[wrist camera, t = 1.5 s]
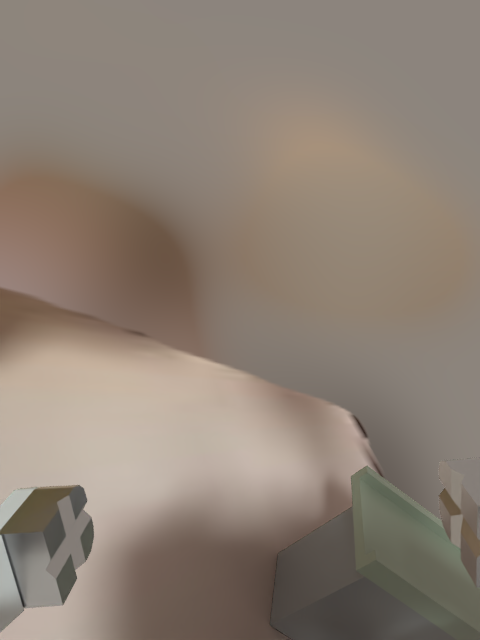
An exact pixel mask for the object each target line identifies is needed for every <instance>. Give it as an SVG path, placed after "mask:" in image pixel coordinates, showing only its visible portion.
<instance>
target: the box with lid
mask: <svg viewBox="0 0 480 640" xmlns="http://www.w3.org/2000/svg"><path fill="white" fill-rule="evenodd" d="M351 485H352V504H353V506H352V507H351V508H349V509H348V510H346V511H345V512H343V513H341V514H340V515H338V516H337V517H335V518H333V519H332V520H330V521H329V522H327V523H326V524H324V525H322V526H321V527H319V528H318V529H316V530H314V531H313V532H311V533H310V534H308V535H307V536H305V537H303V538H302V539H300V540H299V541H297V542H295V543H294V544H292V545H291V546H289V547H288V548H286V549H284V550H283V551H281V552H280V553H278V558H277V567H276V575H275V584H274V593H273V601H272V610H271V619H270V626H272V627H273V628H275V629H277V630H278V631H280V632H281V633H283V634H284V635H286V636H288V637H289V638H291V639H292V640H480V588H476V586H475V584H474V582H473V581H472V579H471V577H470V575H469V574H468V572H467V570H466V568H465V567H464V565H463V563H462V561H461V549H460V548H459V547H457V546H456V545H454V544H453V543H451V541H450V540H449V538H448V536H447V534H446V532H445V529H444V526H443V524H442V521H441V520H439V519H438V518H437V517H436V516H434V515H433V514H431V513H430V512H429V511H427V510H426V509H424V508H423V507H422V506H420V505H419V504H418V503H417V502H415V501H413V499H411V498H410V497H408V496H407V495H406V494H404V493H403V492H402V491H400V490H399V489H398V488H396V487H395V486H394V485H392V484H391V483H390V482H388V481H387V480H386V479H384V478H383V477H381V476H380V475H379V474H377V473H376V472H375V471H373V470H372V469H371V468H369V467H368V466H365V467H364V468H363V469H361V470H360V471H358V472H357V473H355V474H354V475H352V476H351Z"/></svg>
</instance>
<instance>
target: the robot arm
mask: <svg viewBox="0 0 480 640" xmlns="http://www.w3.org/2000/svg"><path fill="white" fill-rule="evenodd" d="M439 479H440V481H441V482H442V484H443V486H444V487H445V488H444V489H443V491H442V492H441V493H440V495H439V510H440V515H441V520H442V524H443V526H444V529H445V532H446V534H447V536H448V538H449V540H450V541H451V543H453V544H454V545H456V546H457V547H459V548H460V549H461V561H462V563H463V565H464V567H465V568H466V570H467V572H468V574H469V575H470V577H471V579H472V581H473V582H474V584H475V586H476V588H480V457H479V458H467V459H457V460H445V461H440V464H439ZM86 503H87V498H86V494H85V491H84V488H82V487H81V486H80V485H71V486H49V487H30V488H20V489H17V490H14V491H13V492H12V493H11V494H10V496H9V497H8V498H7V499H6V500H5V501H4V502H3V503H2V504H1V505H0V632H1V631H2V630H3V629H5V628H6V627H7V626H8V625H9V624H10V623H11V622H12V621H13V620H14V619H15V618H16V617H18V616H19V615H20V614H21V613H22V612H23V611H24V608H34V607H47V606H60V605H63V604H64V602H65V600H66V599H67V597H68V595H69V593H70V591H71V589H72V587H73V585H74V583H75V581H76V579H77V576H76V572H75V570H76V569H77V568H78V567H79V566H81V565H82V564H83V563H85V562H86V560H87V558H88V556H89V554H90V552H91V548H92V543H93V538H94V529H93V522H92V518H91V516H90V515H89V514H87V513H86V512H85V511H84V510H83V508H84V506H85V504H86Z"/></svg>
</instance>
